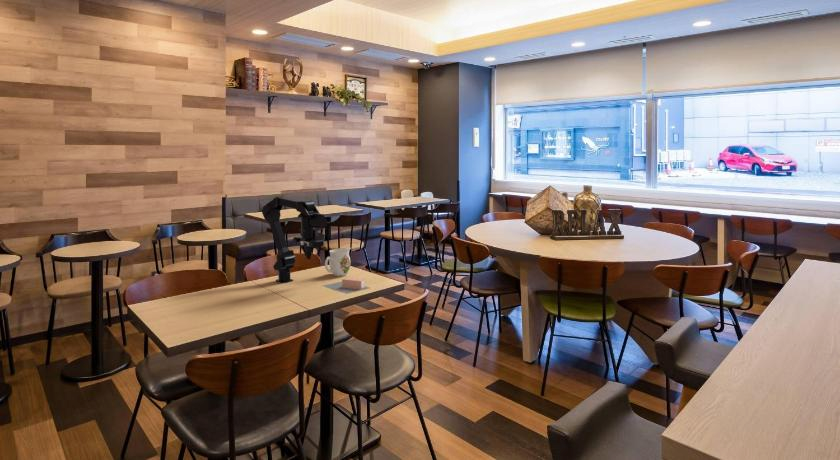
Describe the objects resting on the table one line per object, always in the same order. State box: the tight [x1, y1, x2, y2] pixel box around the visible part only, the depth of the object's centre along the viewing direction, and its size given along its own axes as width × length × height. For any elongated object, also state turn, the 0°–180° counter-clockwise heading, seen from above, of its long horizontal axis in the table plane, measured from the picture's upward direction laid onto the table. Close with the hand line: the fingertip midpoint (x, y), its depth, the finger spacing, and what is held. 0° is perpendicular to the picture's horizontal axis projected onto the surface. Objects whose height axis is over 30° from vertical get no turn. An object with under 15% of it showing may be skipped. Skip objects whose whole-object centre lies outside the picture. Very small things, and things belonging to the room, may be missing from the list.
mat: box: [322, 281, 370, 295], centre depth 241 cm, size 20×14×1 cm
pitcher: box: [324, 246, 352, 277], centre depth 265 cm, size 11×18×14 cm, turn 142°
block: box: [341, 276, 366, 289], centre depth 240 cm, size 4×4×10 cm
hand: (308, 259), depth 244 cm, fingers closed
